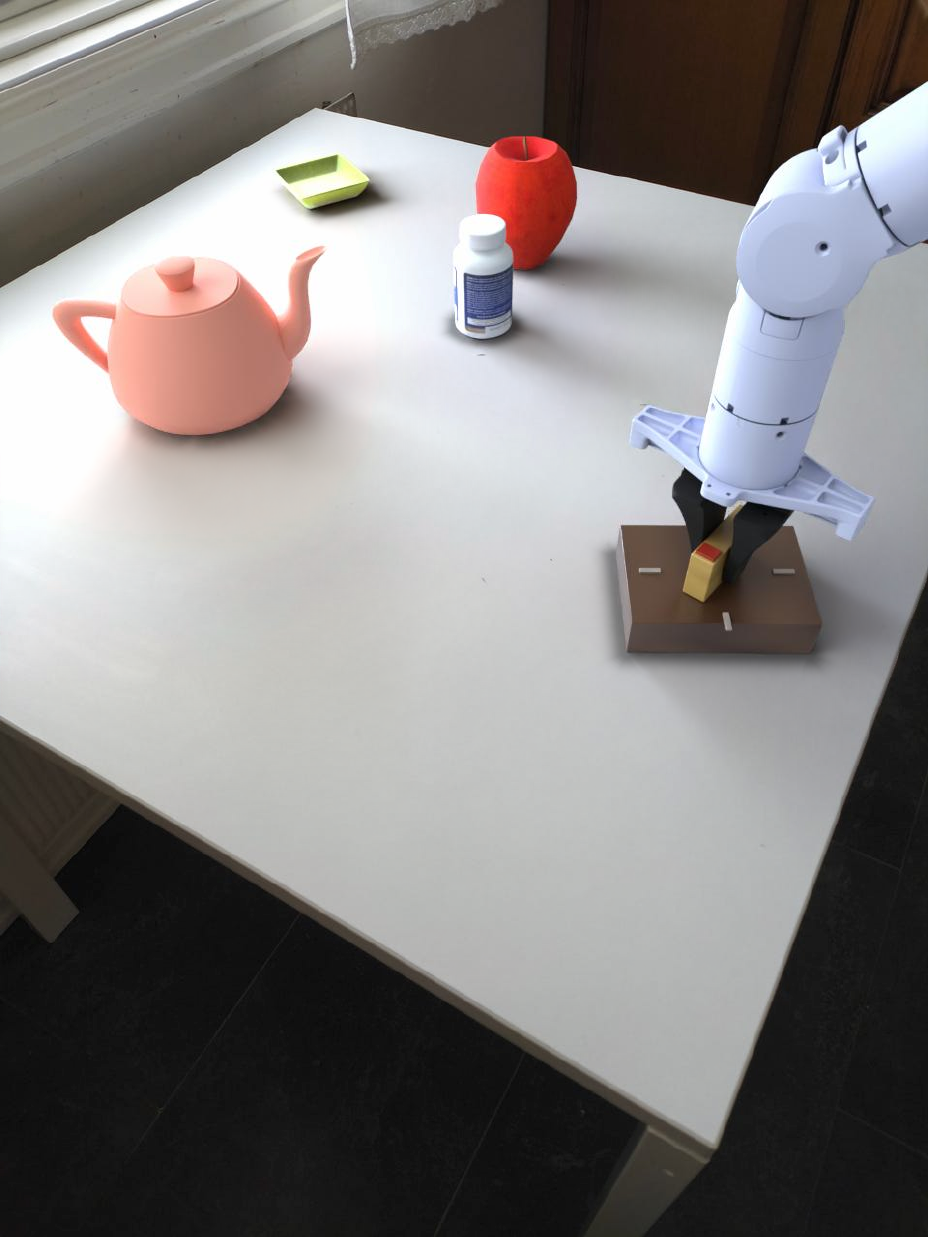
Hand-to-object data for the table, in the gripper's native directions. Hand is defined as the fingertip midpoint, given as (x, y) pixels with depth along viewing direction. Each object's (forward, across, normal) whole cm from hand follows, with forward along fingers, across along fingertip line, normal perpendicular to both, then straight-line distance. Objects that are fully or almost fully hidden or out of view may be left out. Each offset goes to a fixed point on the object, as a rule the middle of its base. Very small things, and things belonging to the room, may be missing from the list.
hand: (717, 566), depth 60 cm
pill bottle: (+4, -34, +19) cm, 39 cm away
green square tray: (+4, -66, +30) cm, 72 cm away
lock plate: (+3, 0, 0) cm, 3 cm away
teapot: (+4, -46, -4) cm, 46 cm away
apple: (+4, -38, +31) cm, 49 cm away
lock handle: (0, 0, 0) cm, 0 cm away
